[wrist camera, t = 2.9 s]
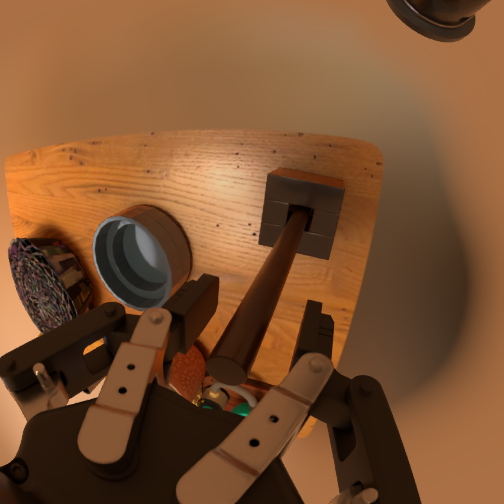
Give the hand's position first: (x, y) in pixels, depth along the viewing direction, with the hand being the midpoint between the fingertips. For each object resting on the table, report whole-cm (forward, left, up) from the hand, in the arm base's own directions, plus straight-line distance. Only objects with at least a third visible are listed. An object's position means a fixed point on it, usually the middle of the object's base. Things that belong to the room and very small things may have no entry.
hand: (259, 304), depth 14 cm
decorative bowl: (+25, -46, -22) cm, 57 cm away
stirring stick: (0, 0, -21) cm, 21 cm away
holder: (0, 0, -21) cm, 21 cm away
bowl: (+11, -21, -21) cm, 32 cm away
